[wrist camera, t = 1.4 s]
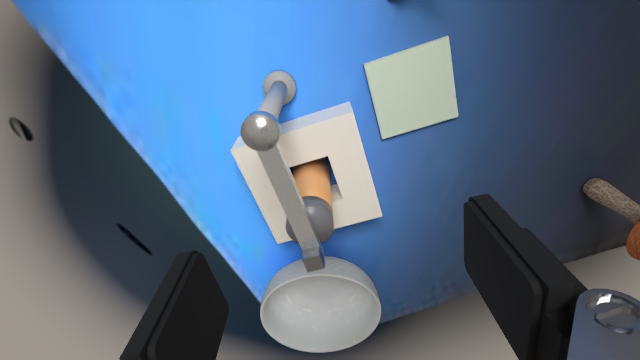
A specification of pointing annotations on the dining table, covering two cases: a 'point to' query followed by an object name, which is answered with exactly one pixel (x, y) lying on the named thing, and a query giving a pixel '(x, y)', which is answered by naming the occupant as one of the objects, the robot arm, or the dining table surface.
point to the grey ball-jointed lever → (283, 184)
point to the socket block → (312, 158)
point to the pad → (413, 87)
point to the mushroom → (617, 209)
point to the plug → (315, 196)
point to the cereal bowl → (320, 306)
